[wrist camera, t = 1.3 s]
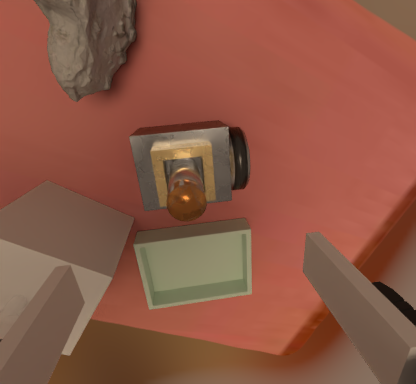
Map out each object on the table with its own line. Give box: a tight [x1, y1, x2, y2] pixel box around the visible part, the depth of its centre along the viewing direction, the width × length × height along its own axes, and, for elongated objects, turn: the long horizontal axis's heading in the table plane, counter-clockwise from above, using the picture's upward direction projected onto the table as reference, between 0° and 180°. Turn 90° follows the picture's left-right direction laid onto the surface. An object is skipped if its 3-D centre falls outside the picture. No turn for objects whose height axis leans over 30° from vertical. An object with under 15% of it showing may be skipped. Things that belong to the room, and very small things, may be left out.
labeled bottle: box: [166, 158, 207, 221], centre depth 26 cm, size 4×4×10 cm
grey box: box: [0, 180, 135, 355], centre depth 30 cm, size 15×18×25 cm
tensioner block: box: [129, 120, 250, 211], centre depth 33 cm, size 15×10×10 cm, turn 95°
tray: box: [133, 218, 252, 310], centre depth 44 cm, size 20×15×4 cm
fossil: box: [34, 0, 137, 102], centre depth 24 cm, size 17×7×15 cm, turn 158°
